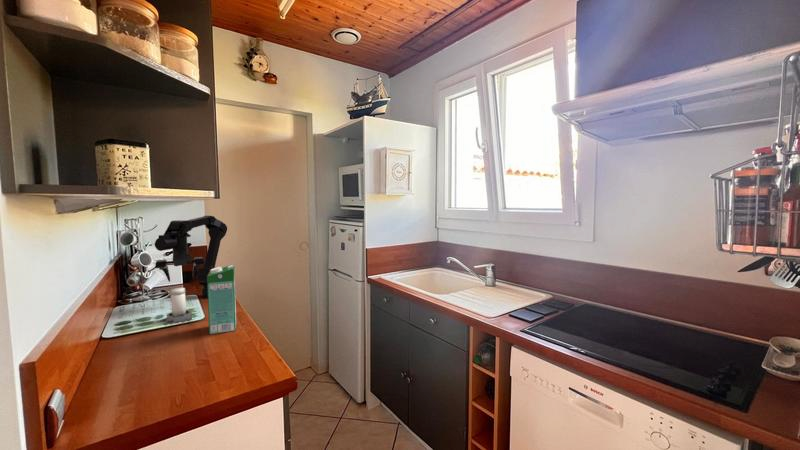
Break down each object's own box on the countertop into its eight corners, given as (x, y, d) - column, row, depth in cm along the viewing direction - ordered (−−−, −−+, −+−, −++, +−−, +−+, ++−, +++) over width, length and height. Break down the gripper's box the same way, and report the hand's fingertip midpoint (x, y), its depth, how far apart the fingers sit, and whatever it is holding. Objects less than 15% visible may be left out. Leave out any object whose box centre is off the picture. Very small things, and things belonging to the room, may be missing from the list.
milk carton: (211, 325, 133) (209, 265, 130) (236, 322, 136) (234, 263, 134) (209, 334, 125) (206, 270, 122) (235, 330, 128) (233, 268, 126)
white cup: (184, 314, 143) (182, 287, 141) (188, 317, 139) (186, 289, 138) (170, 318, 139) (168, 289, 138) (174, 321, 135) (172, 291, 134)
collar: (191, 314, 145) (191, 308, 145) (191, 320, 138) (191, 314, 138) (167, 318, 140) (166, 312, 140) (165, 325, 133) (165, 318, 133)
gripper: (153, 251, 139) (155, 287, 141) (204, 248, 150) (205, 281, 151) (155, 248, 149) (157, 281, 150) (203, 245, 159) (204, 276, 160)
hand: (181, 280), depth 153 cm, fingers open, 9 cm apart
